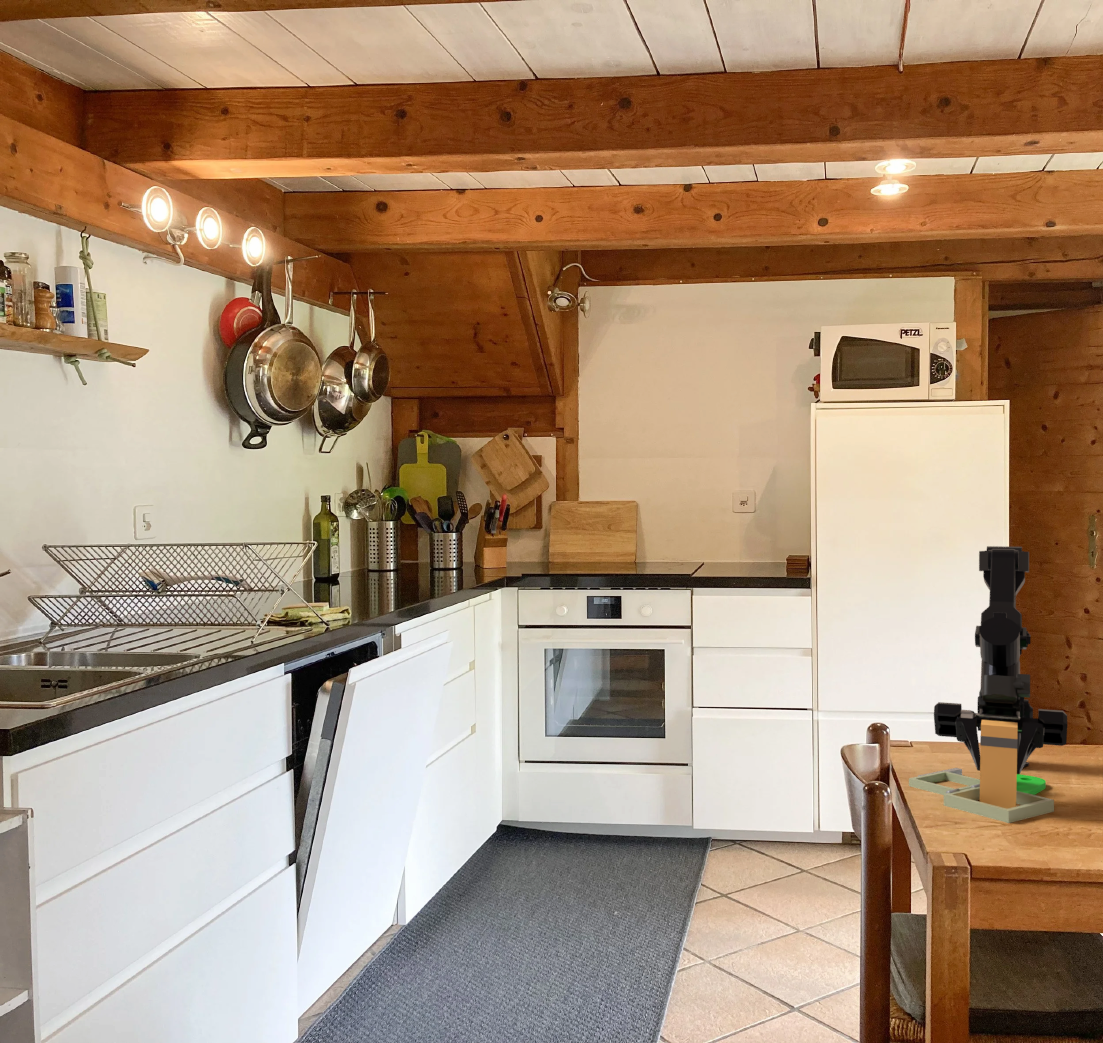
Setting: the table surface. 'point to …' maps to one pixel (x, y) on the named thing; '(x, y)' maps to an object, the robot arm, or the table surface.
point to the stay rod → (953, 770)
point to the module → (998, 763)
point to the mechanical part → (1030, 784)
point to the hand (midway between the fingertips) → (998, 771)
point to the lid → (928, 780)
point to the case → (1028, 808)
